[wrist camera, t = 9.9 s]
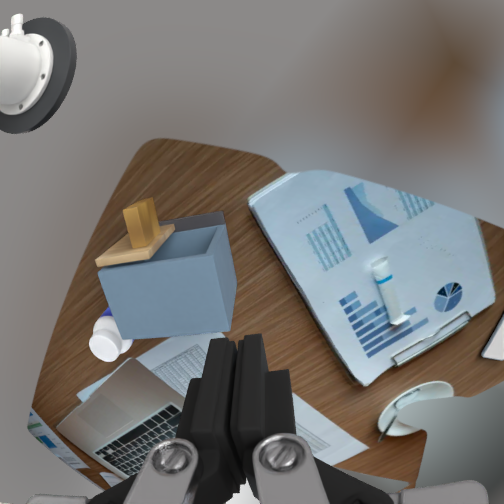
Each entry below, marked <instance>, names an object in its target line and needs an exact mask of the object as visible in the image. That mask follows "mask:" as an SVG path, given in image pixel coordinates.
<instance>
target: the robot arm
mask: <svg viewBox="0 0 504 504" xmlns="http://www.w3.org/2000/svg"><path fill="white" fill-rule="evenodd" d="M22 25H23V15H22V14H16V15H14V16H13V17H12V18H11V29H12V30H11V33H10V34H9V29H4V30H3V31H2V34H1V35H0V111H1V112H3V113H5V114H8V115H17V114H21V113H23V112H26V111H27V110H29V109H30V108H31V107H32V106H33V105H34V104H35V103H36V102H37V101H38V100H39V99H40V97H41V96H42V94H43V93H44V91H45V89H46V87H47V85H48V82H49V80H50V77H51V73H52V68H53V50H52V47H51V45H50V43H49V41H48V40H47V39H46V38H44V37H43V36H41V35H38V34H26V35H24V31H23V30H22ZM246 478H247V480H248V482H249V485H250V487H251V490H252V492H253V495H254V497H256V498H257V499H258V500H259V501H260V504H489V502H488V495H487V492H486V489H485V487H484V486H483V485H482V484H481V483H479V482H476V481H473V480H465V481H460V482H454V483H449V484H443V485H437V486H430V487H422V488H414V489H405V490H401V492H400V493H388V494H387V493H385V492H383V491H382V490H380V489H377V488H375V487H373V486H371V485H369V484H366V483H364V482H362V481H360V480H358V479H356V478H354V477H352V476H349V475H348V474H346V473H344V472H342V471H340V470H338V469H336V468H334V467H332V466H330V465H328V464H326V463H325V462H323V461H321V460H319V459H317V458H315V457H314V456H313V454H312V451H311V449H310V446H309V445H308V443H307V441H305V440H304V439H303V438H302V437H300V436H297V435H296V426H295V416H294V406H293V398H292V389H291V382H290V374H289V369H286V370H279V371H271V372H269V371H268V365H267V360H266V354H265V349H264V343H263V338H262V334H252V335H245V336H244V340H239V342H238V351H237V348H236V344H235V342H234V341H229V339H228V338H227V337H226V338H216V339H211V340H210V343H209V348H208V352H207V356H206V361H205V365H204V369H203V374H202V378H192V379H191V380H190V383H189V386H188V390H187V394H186V398H185V402H184V406H183V409H182V413H181V417H180V421H179V425H178V429H177V433H176V437H175V438H170V439H166V440H163V441H161V442H159V443H157V444H156V445H155V446H153V447H152V448H151V450H150V451H149V453H148V454H147V456H146V458H145V460H144V463H143V465H142V467H141V469H140V471H139V472H138V473H136V474H135V475H133V476H131V477H129V478H128V479H126V480H124V481H122V482H121V483H119V484H117V485H115V486H113V487H111V488H110V489H108V490H106V491H104V492H103V493H100V494H98V495H96V496H95V497H94V498H92V499H88V498H87V497H84V496H61V495H47V494H36V495H34V496H32V497H30V499H29V500H28V501H27V503H26V504H226V502H227V501H228V500H230V499H231V498H232V497H233V493H240V492H239V491H240V485H241V484H245V483H246ZM0 504H11V503H3V502H0Z"/></svg>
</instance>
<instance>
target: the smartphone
mask: <svg viewBox="0 0 504 504" xmlns="http://www.w3.org/2000/svg"><path fill="white" fill-rule="evenodd" d="M481 355H482V357H483V358H489V359H495V360H501V361H503V360H504V314H503V316H502V318H501V320H500V322H499V324H498V326H497V327H496V329H495V331H494V333H493V334H492V336H491V338H490V340H489V341H488V343H487V345H486V346H485V348H484V350H483V351H482V354H481Z"/></svg>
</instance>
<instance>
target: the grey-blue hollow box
mask: <svg viewBox="0 0 504 504" xmlns="http://www.w3.org/2000/svg"><path fill="white" fill-rule="evenodd" d="M169 224H174V226H175V231H174V232H173V233H172V234H171V235H170V236H169V237H168V239H167V240H166V241H165V242H164V243H163V244H162V245H161V247H160V248H159V249H158V250H157V251H156V252H155V254H154V255H153V256H152V257H151V258H150V259H146V260H140V261H133V262H127V263H120V264H114V265H108V266H104V267H103V268H102V269H101V270H100V271H99V272H98V276H99V279H100V282H101V285H102V288H103V291H104V293H105V296H106V299H107V302H108V304H109V307H110V310H111V312H112V315H113V318H114V320H115V323H116V325H117V328H118V330H119V333H120V335H121V338H122V340H128V339H145V338H160V337H173V336H185V335H196V334H207V333H216V332H226V331H230V328H231V321H232V315H233V308H234V301H235V295H236V288H237V279H236V274H235V269H234V264H233V259H232V254H231V249H230V244H229V239H228V234H227V229H226V224H225V218H224V213H223V211H217V212H211V213H205V214H199V215H193V216H188V217H182V218H177V219H171V220H166V221H160V222H159V226H164V225H169Z"/></svg>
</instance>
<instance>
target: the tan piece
mask: <svg viewBox="0 0 504 504" xmlns="http://www.w3.org/2000/svg"><path fill="white" fill-rule="evenodd" d="M123 214H124V218H125V222H126V226H127V230H128V234H127V235H125V236H124V237H123V238H122V239H120V240H119V241H118V242H117V243H115V244H114V245H113V246H112V247H110V248H109V249H108V250H107V251H106V252H104V253H103V254H102V255H101V256H100V257H98V258H97V259H96V260H95V261H96V264H97V267H102V266H108V265H114V264H120V263H127V262H133V261H140V260H146V259H150V258H151V257H152V256H153V255H154V254H155V252H156V251H157V250H158V249H159V248H160V247H161V245H162V244H163V243H164V242H165V241H166V240H167V239H168V237H169V236H170V235H171V234H172V233H173V232H174V231H175V226H174V224H169V225H164V226H159V222H158V218H157V214H156V210H155V205H154V201H153V198H147V199H143V200H139V201H138V202H136V203H134V204H132V205H131V206H129V207H127V208H125V209H124V210H123Z"/></svg>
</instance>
